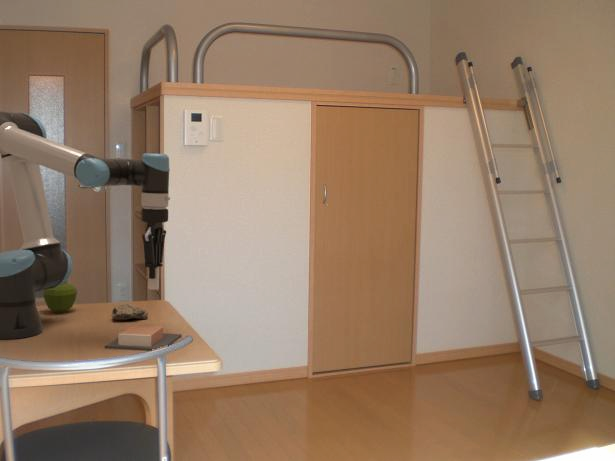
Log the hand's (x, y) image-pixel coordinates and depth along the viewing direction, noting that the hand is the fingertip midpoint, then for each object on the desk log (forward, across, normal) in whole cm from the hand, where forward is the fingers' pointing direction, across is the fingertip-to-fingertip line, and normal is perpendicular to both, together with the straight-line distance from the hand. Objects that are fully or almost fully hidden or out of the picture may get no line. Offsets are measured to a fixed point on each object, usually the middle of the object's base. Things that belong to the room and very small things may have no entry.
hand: (153, 289), depth 200 cm
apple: (+15, +22, +40) cm, 48 cm away
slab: (+11, -5, -1) cm, 12 cm away
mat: (+13, -9, -1) cm, 16 cm away
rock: (+14, +17, +14) cm, 27 cm away
